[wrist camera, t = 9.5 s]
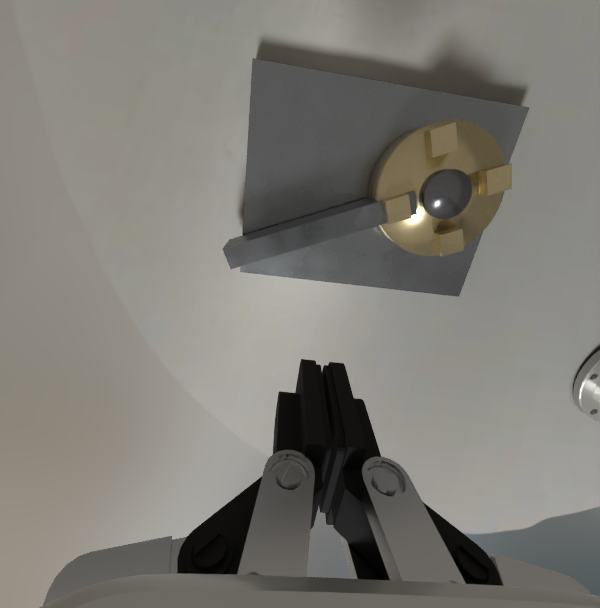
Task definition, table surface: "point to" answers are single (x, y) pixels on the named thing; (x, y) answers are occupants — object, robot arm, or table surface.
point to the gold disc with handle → (406, 198)
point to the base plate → (348, 169)
